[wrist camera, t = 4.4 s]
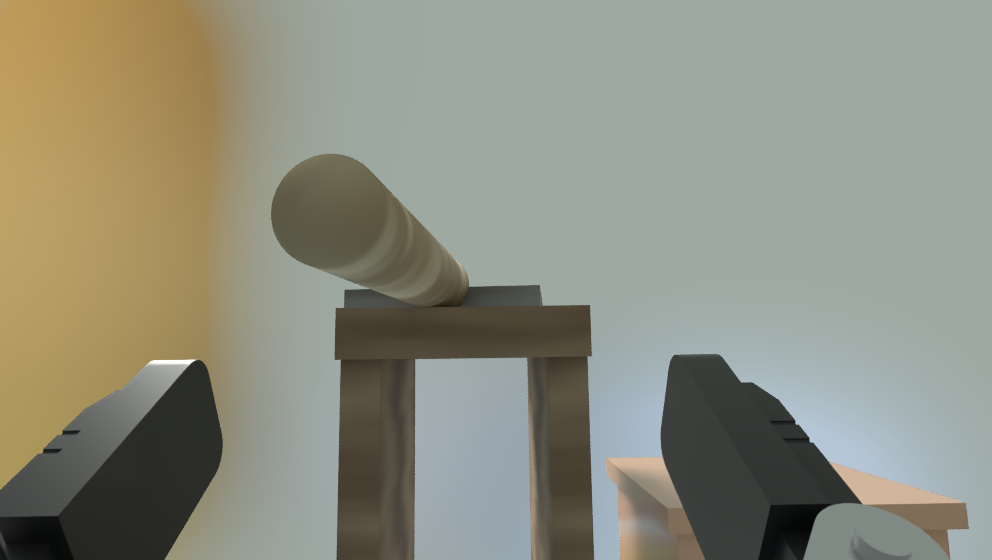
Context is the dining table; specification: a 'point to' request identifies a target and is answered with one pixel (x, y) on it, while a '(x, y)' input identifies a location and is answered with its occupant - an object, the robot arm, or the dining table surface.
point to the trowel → (373, 241)
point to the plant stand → (391, 418)
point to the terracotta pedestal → (671, 541)
